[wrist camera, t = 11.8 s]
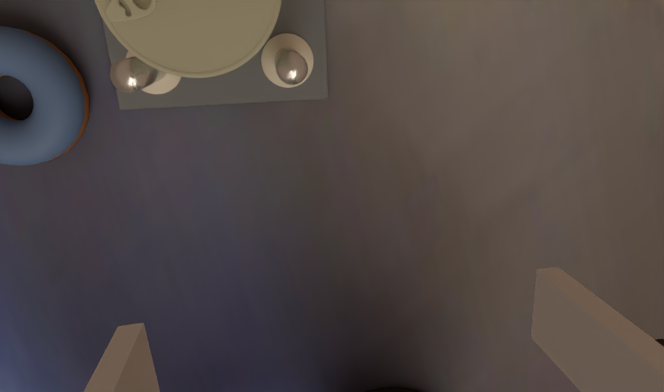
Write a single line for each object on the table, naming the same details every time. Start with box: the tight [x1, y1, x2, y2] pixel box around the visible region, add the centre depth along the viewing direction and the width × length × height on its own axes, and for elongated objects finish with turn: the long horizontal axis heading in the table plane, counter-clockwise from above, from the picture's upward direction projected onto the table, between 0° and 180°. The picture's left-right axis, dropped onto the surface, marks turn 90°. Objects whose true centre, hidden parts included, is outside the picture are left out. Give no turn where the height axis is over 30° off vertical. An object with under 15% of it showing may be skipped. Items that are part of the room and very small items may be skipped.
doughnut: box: [0, 26, 89, 166], centre depth 33 cm, size 10×10×5 cm
